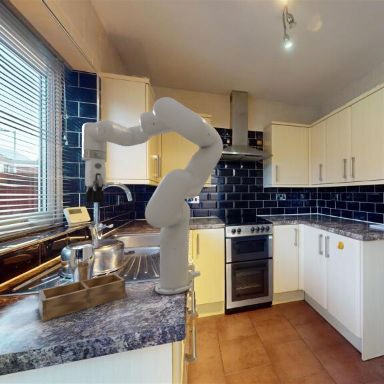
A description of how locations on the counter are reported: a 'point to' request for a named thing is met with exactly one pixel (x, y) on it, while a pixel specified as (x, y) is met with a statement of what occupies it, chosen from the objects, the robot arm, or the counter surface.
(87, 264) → the beer glass
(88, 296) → the holder
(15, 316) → the counter surface
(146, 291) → the counter surface
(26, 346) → the counter surface
